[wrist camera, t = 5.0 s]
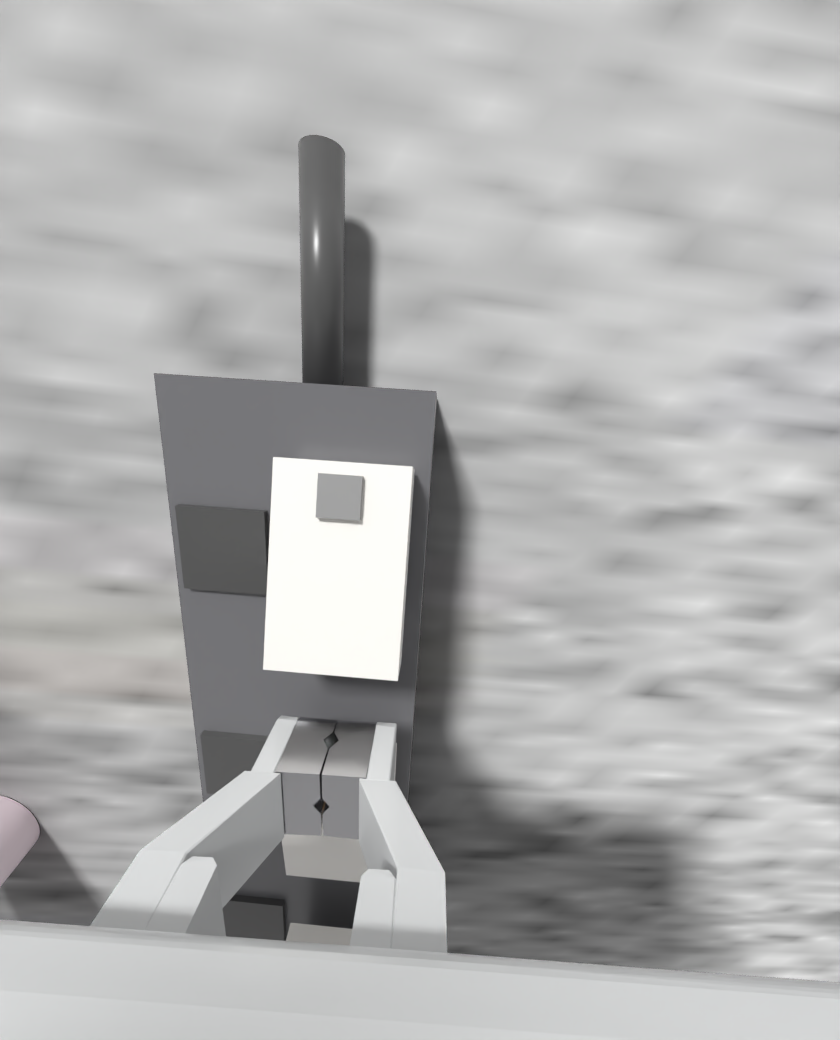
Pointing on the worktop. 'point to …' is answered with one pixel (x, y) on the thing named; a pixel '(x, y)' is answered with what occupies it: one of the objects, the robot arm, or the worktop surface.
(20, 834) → the smoothie
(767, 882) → the worktop surface
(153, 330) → the worktop surface
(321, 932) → the block
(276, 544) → the plate
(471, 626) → the worktop surface
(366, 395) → the power strip
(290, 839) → the rocker
